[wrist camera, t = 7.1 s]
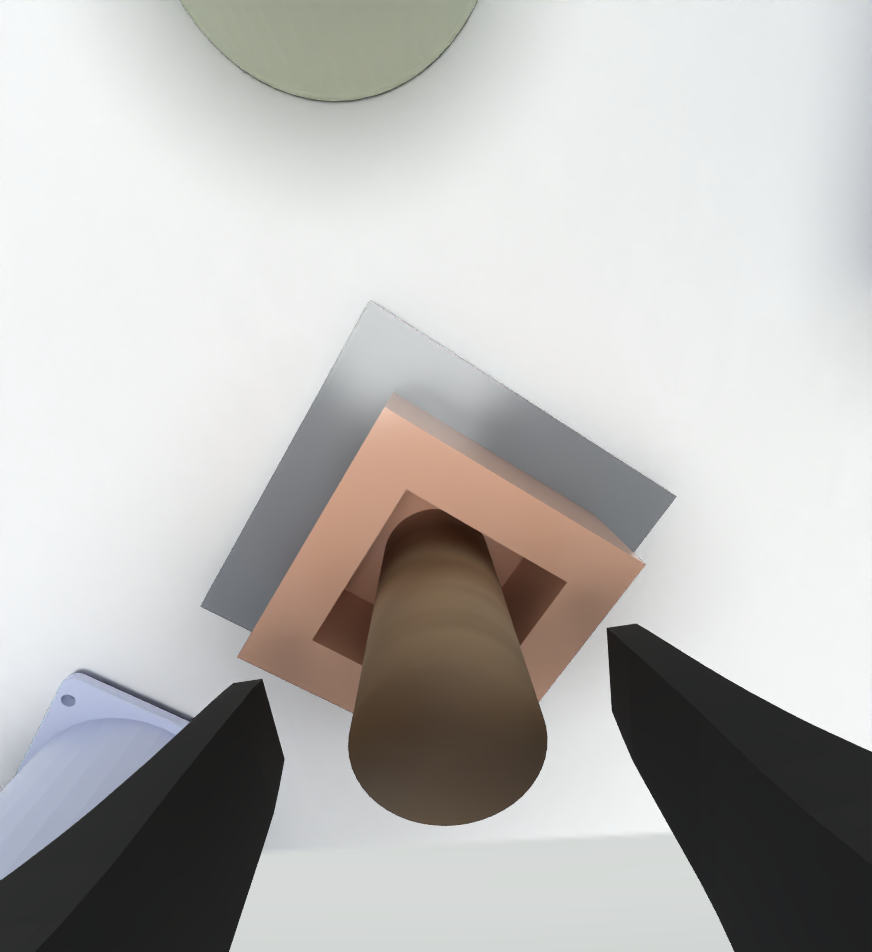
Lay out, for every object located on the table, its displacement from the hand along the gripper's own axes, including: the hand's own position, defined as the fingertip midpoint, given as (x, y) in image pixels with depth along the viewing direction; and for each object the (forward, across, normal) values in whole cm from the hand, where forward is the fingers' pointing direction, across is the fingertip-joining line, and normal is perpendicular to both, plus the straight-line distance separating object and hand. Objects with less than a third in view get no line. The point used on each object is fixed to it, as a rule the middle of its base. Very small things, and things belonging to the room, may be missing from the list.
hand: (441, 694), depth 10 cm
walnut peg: (+6, 0, 0) cm, 7 cm away
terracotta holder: (+8, 0, 0) cm, 8 cm away
